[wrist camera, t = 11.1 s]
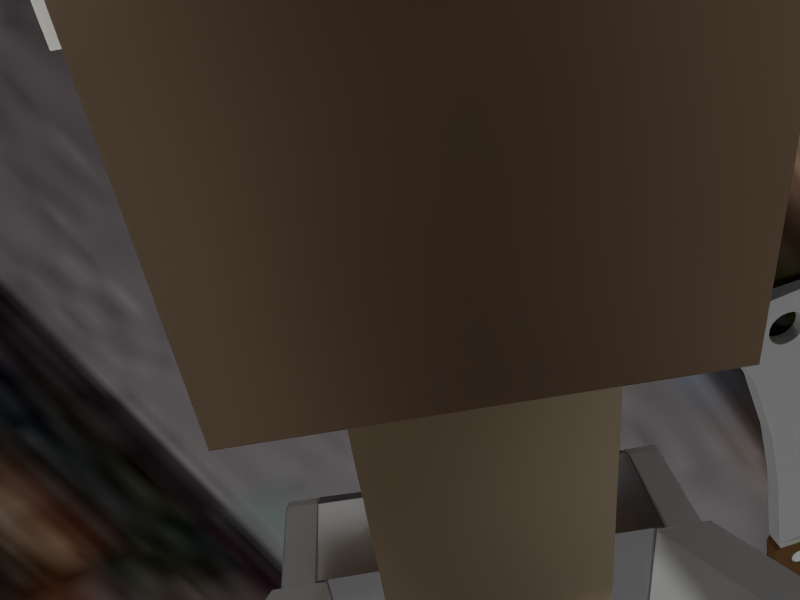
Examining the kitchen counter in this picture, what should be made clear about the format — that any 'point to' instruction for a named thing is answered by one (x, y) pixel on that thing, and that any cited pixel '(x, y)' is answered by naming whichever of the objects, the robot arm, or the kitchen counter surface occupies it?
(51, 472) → the kitchen counter surface
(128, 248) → the kitchen counter surface
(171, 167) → the wooden mallet
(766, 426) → the kitchen cleaver
